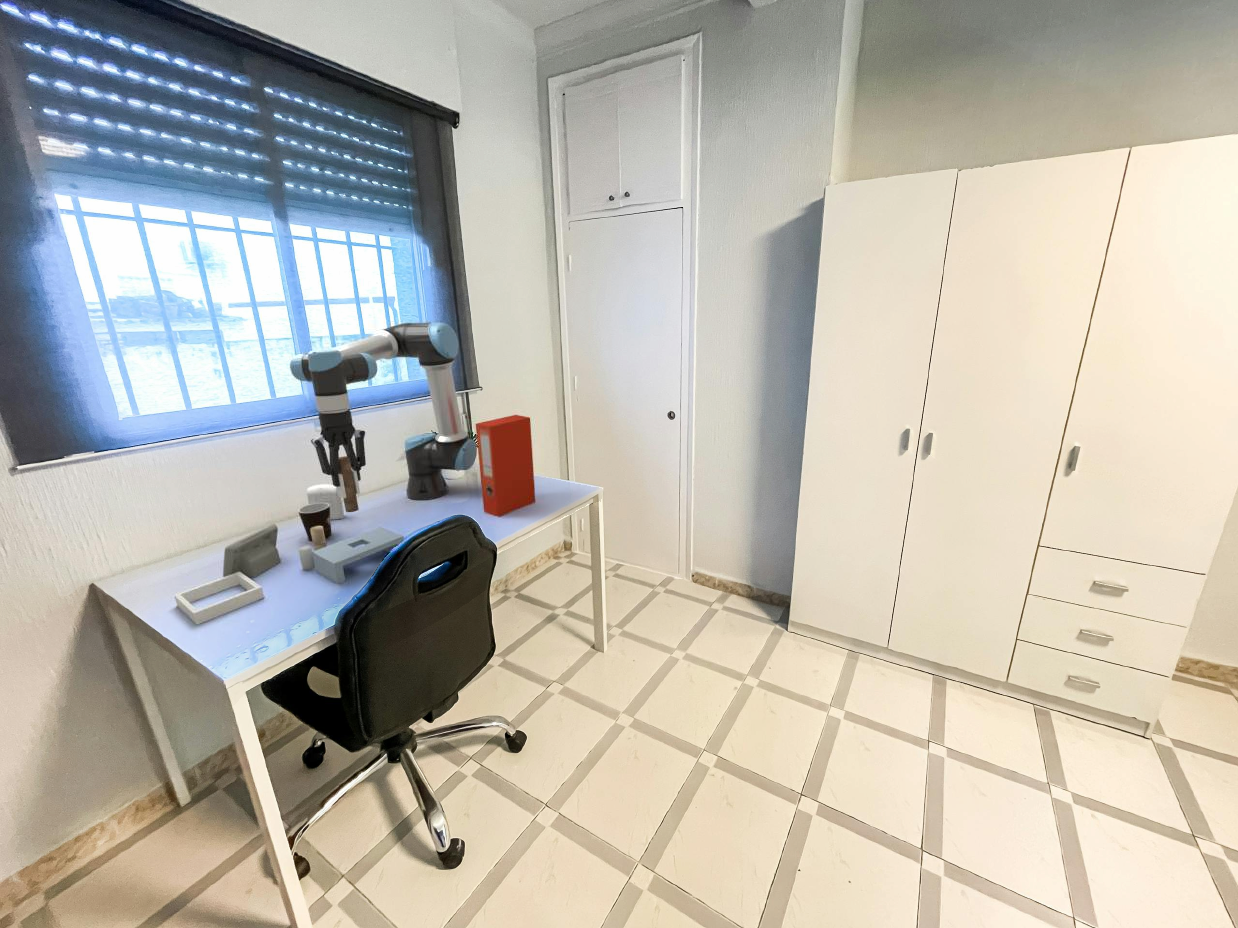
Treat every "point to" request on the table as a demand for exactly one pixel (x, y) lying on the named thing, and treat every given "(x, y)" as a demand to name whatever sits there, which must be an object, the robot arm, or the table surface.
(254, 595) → the frame
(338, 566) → the bridge
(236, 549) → the digital clock
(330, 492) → the photo printer
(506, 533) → the table surface
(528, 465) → the file binder
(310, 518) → the coffee mug
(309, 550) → the short dowel
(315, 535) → the medium dowel
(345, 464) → the long dowel
